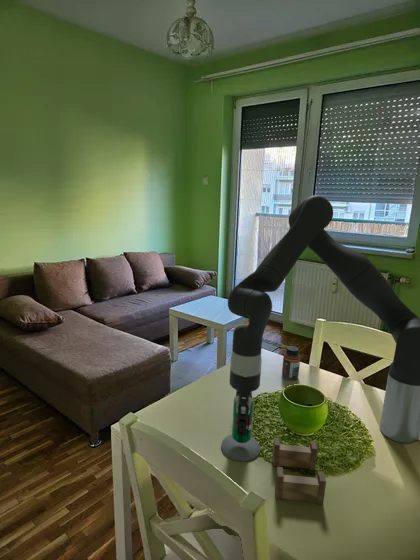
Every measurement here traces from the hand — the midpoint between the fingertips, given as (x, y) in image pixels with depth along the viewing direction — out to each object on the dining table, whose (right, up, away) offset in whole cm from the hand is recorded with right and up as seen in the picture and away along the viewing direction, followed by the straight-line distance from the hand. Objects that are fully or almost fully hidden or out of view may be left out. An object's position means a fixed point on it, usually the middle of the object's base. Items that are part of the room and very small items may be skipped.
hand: (241, 427), depth 93 cm
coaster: (0, -6, +1) cm, 6 cm away
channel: (+12, -8, -9) cm, 17 cm away
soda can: (0, -3, +1) cm, 3 cm away
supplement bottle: (+21, +2, +39) cm, 45 cm away
